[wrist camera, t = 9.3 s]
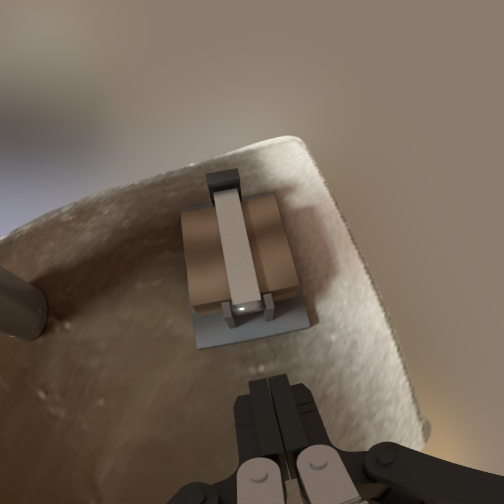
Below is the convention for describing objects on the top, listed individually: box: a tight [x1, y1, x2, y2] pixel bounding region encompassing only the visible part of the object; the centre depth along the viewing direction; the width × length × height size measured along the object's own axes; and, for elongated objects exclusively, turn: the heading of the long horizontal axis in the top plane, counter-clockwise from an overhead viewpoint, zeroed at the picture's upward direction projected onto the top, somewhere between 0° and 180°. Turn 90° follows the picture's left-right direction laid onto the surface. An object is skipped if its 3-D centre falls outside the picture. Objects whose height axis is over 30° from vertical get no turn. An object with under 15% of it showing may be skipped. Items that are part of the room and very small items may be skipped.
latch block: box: [180, 168, 310, 350], centre depth 37 cm, size 20×14×9 cm
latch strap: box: [213, 188, 263, 316], centre depth 35 cm, size 16×3×1 cm, turn 11°
